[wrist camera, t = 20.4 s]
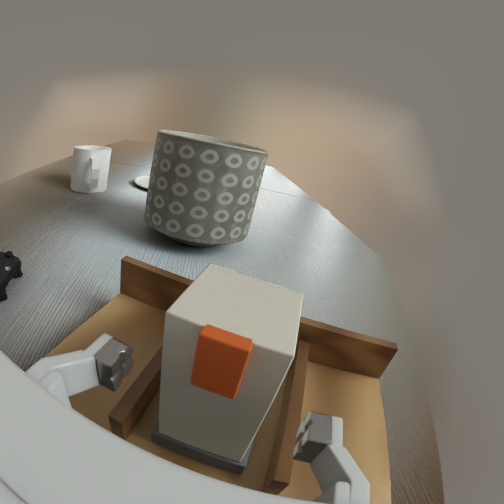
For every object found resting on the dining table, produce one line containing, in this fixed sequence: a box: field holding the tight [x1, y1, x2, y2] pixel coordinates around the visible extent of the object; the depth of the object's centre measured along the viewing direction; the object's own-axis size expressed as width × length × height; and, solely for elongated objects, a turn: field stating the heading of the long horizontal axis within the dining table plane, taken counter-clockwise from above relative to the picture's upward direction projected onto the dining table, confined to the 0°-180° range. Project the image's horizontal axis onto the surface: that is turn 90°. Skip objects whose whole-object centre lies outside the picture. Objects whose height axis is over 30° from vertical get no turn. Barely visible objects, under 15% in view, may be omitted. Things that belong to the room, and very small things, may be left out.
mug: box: [71, 145, 112, 193], centre depth 64 cm, size 14×10×11 cm
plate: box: [134, 175, 150, 190], centre depth 83 cm, size 21×21×1 cm
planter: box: [144, 130, 268, 247], centre depth 50 cm, size 19×19×18 cm
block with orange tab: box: [151, 263, 303, 475], centre depth 18 cm, size 6×12×11 cm, turn 167°
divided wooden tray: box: [43, 256, 398, 504], centre depth 20 cm, size 28×16×6 cm, turn 77°
